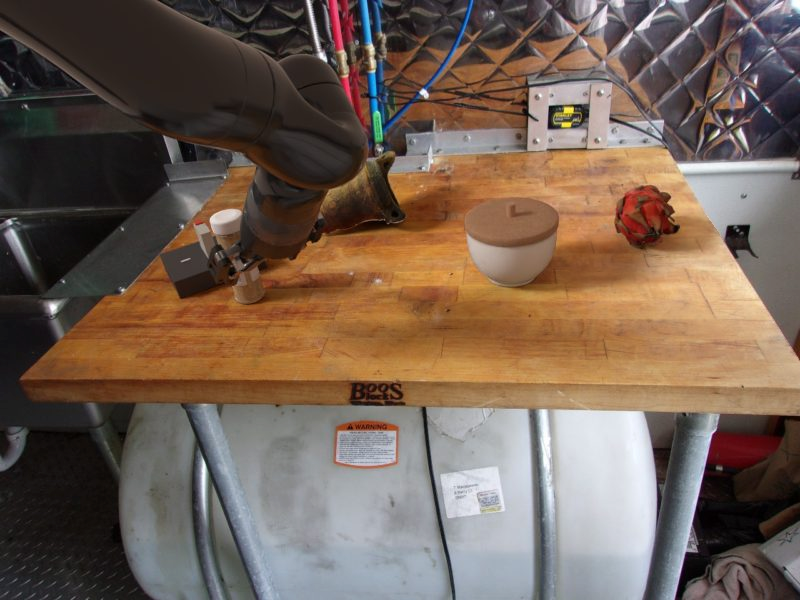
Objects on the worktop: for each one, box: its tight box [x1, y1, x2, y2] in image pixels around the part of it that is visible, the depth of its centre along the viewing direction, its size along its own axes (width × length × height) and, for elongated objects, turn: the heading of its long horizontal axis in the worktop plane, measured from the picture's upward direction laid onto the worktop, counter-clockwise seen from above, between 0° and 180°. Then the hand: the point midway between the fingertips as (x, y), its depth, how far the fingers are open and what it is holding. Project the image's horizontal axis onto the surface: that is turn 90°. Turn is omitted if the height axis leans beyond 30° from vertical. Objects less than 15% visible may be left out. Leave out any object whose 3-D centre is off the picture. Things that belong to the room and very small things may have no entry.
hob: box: [159, 235, 268, 299], centre depth 94 cm, size 14×11×3 cm
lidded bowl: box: [464, 196, 560, 288], centre depth 81 cm, size 13×13×11 cm
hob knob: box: [192, 219, 215, 259], centre depth 92 cm, size 5×2×5 cm, turn 30°
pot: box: [320, 150, 408, 235], centre depth 102 cm, size 17×11×18 cm
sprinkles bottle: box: [209, 208, 266, 305], centre depth 83 cm, size 5×5×13 cm
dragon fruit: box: [613, 184, 681, 250], centre depth 87 cm, size 8×8×12 cm
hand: (260, 266), depth 76 cm, fingers open, 8 cm apart
